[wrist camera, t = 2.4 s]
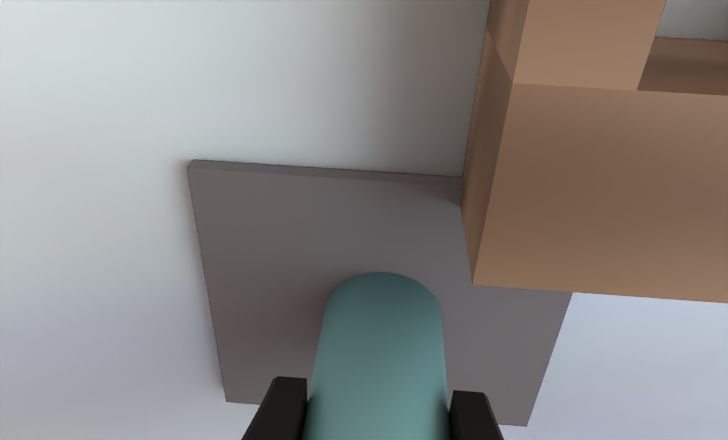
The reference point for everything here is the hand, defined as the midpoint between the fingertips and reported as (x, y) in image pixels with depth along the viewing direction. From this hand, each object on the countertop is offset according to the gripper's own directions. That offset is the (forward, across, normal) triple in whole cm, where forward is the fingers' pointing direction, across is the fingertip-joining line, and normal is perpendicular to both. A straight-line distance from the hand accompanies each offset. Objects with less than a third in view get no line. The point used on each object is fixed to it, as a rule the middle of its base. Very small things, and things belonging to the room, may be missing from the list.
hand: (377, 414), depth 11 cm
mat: (+3, 0, 0) cm, 3 cm away
